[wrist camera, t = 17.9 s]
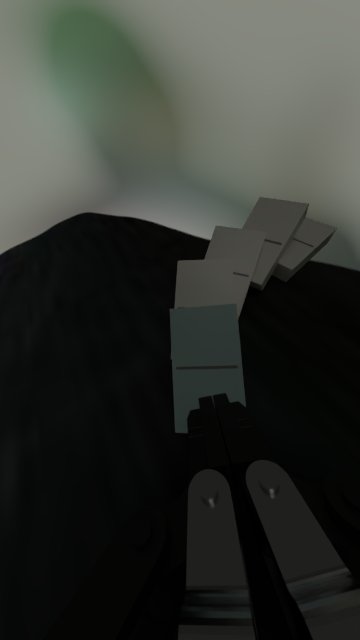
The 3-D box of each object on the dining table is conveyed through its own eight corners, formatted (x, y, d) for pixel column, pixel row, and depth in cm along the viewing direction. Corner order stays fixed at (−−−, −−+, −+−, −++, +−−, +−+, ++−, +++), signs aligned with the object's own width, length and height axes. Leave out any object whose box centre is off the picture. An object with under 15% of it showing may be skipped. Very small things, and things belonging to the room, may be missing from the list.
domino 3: (248, 436, 12) (236, 303, 13) (175, 432, 12) (169, 309, 14) (243, 421, 14) (233, 308, 15) (180, 419, 14) (175, 313, 16)
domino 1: (236, 322, 16) (266, 231, 16) (188, 307, 18) (215, 225, 18) (236, 324, 18) (263, 243, 18) (192, 310, 20) (217, 236, 20)
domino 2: (229, 364, 14) (233, 258, 15) (170, 358, 15) (177, 260, 16) (228, 361, 16) (232, 268, 17) (176, 356, 17) (182, 269, 18)
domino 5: (292, 269, 19) (337, 227, 21) (252, 250, 21) (296, 214, 23) (285, 283, 20) (327, 243, 22) (249, 263, 23) (290, 229, 25)
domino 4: (261, 284, 18) (309, 203, 17) (219, 268, 20) (259, 196, 19) (261, 291, 20) (305, 218, 19) (223, 275, 22) (260, 210, 21)
